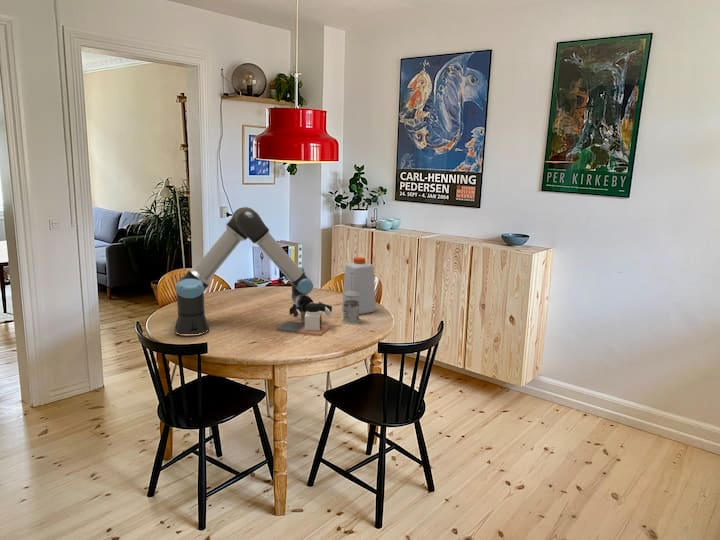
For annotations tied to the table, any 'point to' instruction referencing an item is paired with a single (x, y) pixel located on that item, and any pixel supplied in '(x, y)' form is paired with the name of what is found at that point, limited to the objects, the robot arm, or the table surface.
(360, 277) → the plastic bottle
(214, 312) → the table surface
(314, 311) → the medicine bottle
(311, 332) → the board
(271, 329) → the table surface
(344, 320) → the french press
